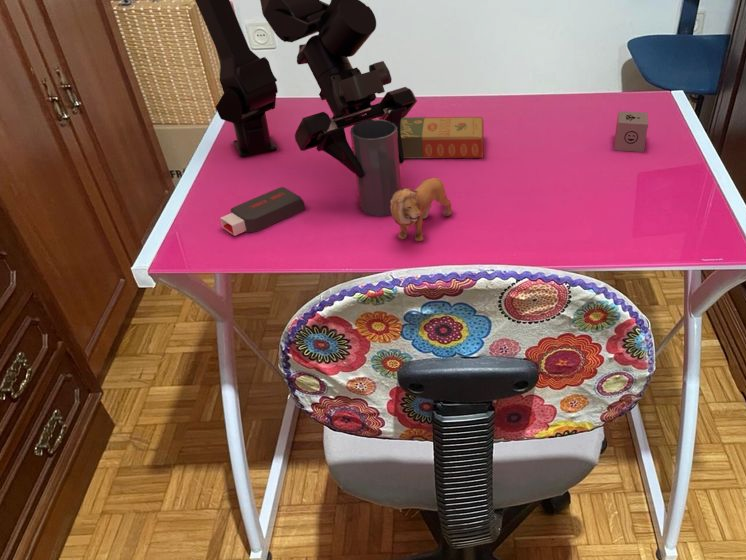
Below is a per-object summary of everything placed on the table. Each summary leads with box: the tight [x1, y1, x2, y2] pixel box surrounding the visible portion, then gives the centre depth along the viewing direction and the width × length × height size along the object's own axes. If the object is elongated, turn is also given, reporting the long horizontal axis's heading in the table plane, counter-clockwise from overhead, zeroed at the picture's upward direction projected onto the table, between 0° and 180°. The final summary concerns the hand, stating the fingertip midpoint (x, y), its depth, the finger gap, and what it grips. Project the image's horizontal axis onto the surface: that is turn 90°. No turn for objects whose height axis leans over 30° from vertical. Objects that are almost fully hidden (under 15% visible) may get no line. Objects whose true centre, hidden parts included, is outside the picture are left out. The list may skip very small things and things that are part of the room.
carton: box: [400, 116, 484, 159], centre depth 126 cm, size 8×16×4 cm, turn 89°
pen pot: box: [349, 119, 403, 217], centre depth 109 cm, size 7×7×12 cm
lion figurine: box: [390, 177, 452, 242], centre depth 105 cm, size 15×5×9 cm, turn 159°
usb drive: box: [219, 186, 306, 237], centre depth 109 cm, size 5×12×3 cm, turn 136°
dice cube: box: [614, 110, 649, 153], centre depth 127 cm, size 5×5×5 cm
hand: (382, 169), depth 108 cm, fingers closed on pen pot, 7 cm apart
